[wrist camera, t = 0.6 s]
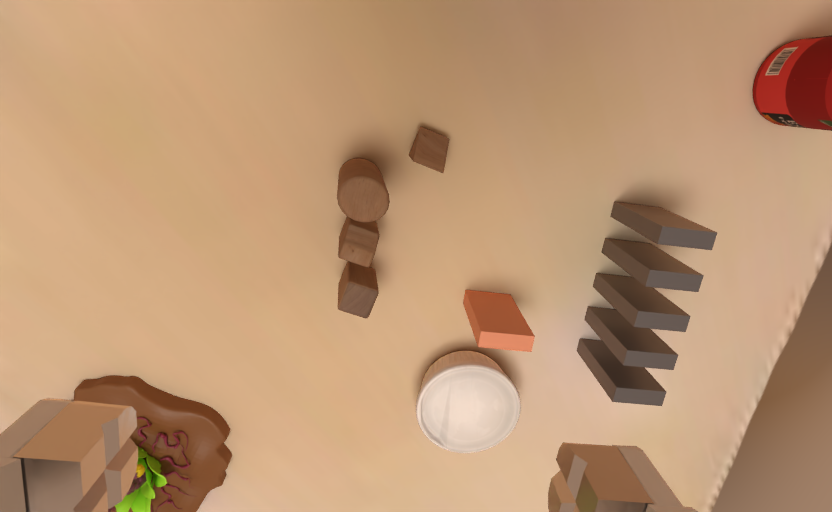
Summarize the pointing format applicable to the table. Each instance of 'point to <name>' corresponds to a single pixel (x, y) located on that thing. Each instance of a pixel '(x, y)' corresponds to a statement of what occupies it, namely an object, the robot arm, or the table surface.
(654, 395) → the tile
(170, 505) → the plant
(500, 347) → the tile
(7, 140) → the table surface
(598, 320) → the tile
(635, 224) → the tile
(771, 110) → the canned food
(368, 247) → the wooden block set
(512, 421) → the ramekin
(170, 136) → the table surface
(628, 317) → the tile
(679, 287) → the tile
